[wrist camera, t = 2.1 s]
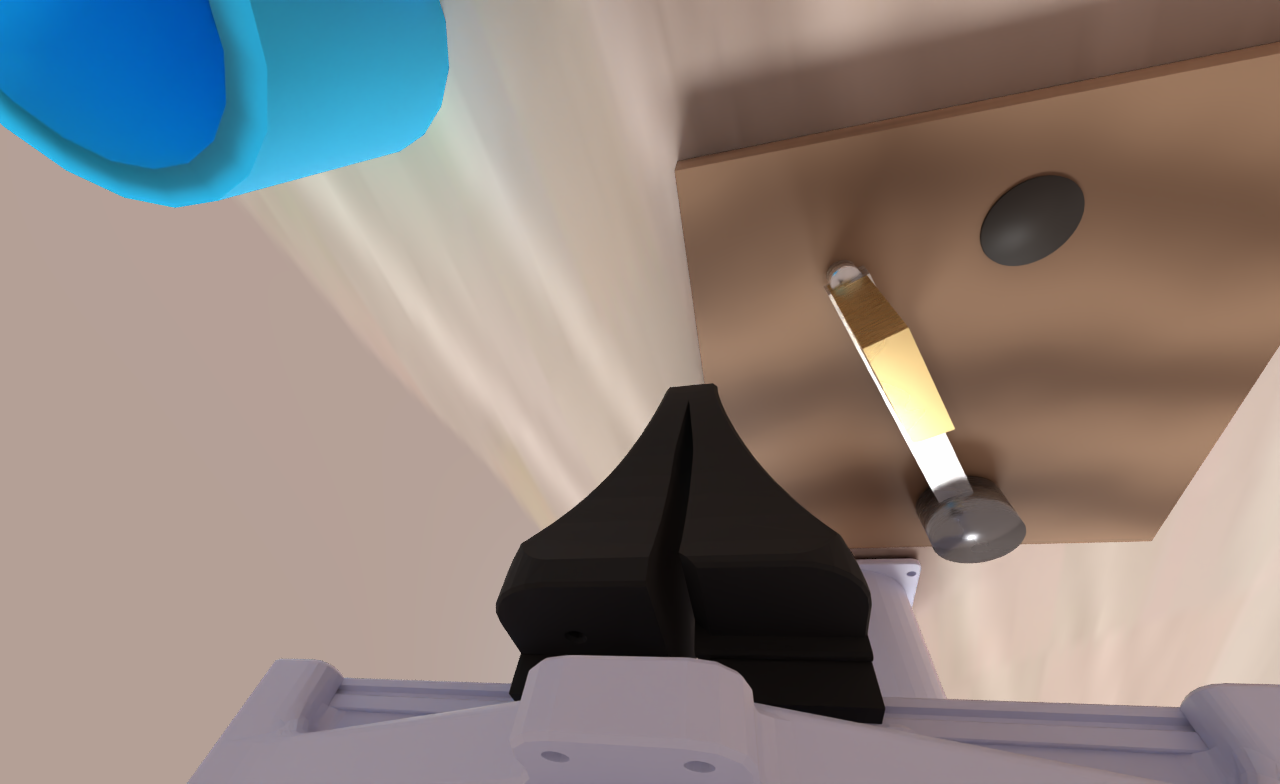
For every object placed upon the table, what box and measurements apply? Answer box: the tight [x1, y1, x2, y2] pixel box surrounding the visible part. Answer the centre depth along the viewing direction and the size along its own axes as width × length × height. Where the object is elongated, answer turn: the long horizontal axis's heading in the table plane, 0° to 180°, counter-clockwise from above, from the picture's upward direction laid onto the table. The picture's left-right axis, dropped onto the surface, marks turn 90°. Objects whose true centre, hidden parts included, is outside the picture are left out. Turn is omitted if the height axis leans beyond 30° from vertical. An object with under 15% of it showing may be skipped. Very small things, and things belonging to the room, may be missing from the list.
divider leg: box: [824, 260, 1026, 563], centre depth 17 cm, size 16×4×5 cm, turn 36°
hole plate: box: [675, 42, 1280, 548], centre depth 19 cm, size 20×20×2 cm
